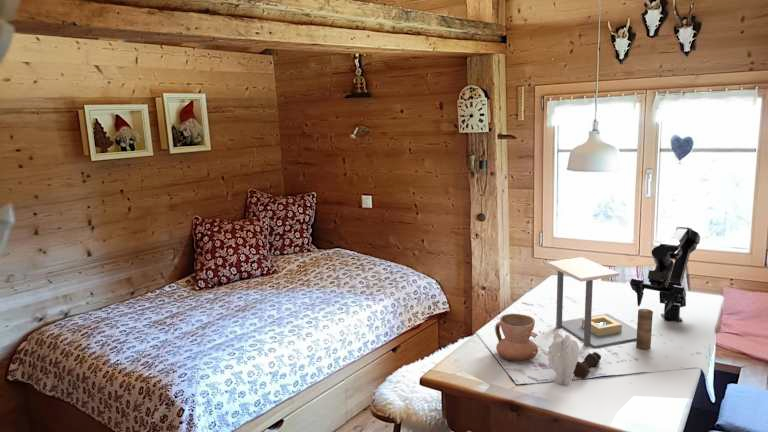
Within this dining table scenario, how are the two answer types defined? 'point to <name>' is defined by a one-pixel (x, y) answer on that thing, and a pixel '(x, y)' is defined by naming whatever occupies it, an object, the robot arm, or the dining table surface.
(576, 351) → the shell sculpture
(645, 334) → the walnut peg
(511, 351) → the ceramic jug
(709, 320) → the dining table surface
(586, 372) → the bolt
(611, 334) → the socket stand
